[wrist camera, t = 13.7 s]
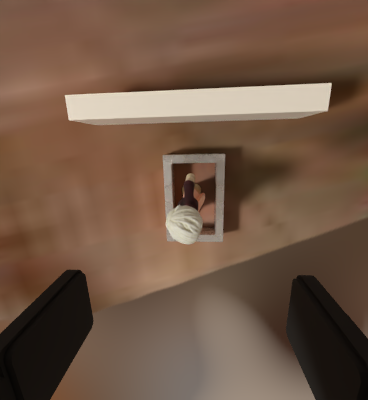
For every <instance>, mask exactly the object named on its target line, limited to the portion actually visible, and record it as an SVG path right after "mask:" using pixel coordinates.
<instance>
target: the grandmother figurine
mask: <svg viewBox="0 0 368 400" xmlns="http://www.w3.org/2000/svg"><path fill="white" fill-rule="evenodd" d="M182 194H183V198H182V199H181V200H180V201H179V202H178V206H177V207H176V208H174V209H172V210H171V211H170V212H169V213H168V214H167V219H166V227H167V229H168V230H169V233H170V234H171V236H172V238H173V239H175V240H177V241H179V242H181V243H183V244H193V243H194V242H195V241H196V240H197V239H198V238H199V235H200V232H201V230H202V225H203V221H202V218H201V216H200V214H199V210H200V208H201V206H202V205H203V203H204V200H205V193H201V187H200V186H199V185H198V184H195V175H194V174H192V173H190V174H188V175H187V176H186V180H185V182H184V186H183V187H182Z"/></svg>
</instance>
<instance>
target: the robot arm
mask: <svg viewBox="0 0 368 400" xmlns="http://www.w3.org/2000/svg"><path fill="white" fill-rule="evenodd" d="M92 325H93V315H92V309H91V304H90V298H89V293H88V287H87V282H86V276H85V274H84V273H82V271H81V270H66V271H65V272H64V273H63V274H62V275H61V276H60V277H59V278H58V279H57V280H56V281H55V282H54V283H52V284H51V285H50V286H49V287H48V288H47V289H46V290H45V291H44V292H43V293H42V294H41V295H40V296H39V297H38V298H37V299H36V300H35V301H34V302H33V303H32V304H31V305H30V306H29V307H28V308H26V309H25V310H24V311H23V312H22V313H21V314H20V315H19V316H18V317H17V318H16V319H15V320H14V321H13V322H12V323H11V324H10V325H9V326H8V327H7V328H6V329H5V330H4V331H3V332H2V333H1V334H0V400H50V399H51V397H52V395H53V394H54V392H55V390H56V388H57V387H58V385H59V383H60V382H61V380H62V378H63V376H64V375H65V373H66V371H67V369H68V368H69V366H70V364H71V363H72V361H73V359H74V357H75V356H76V354H77V352H78V351H79V349H80V347H81V345H82V344H83V342H84V340H85V339H86V337H87V335H88V333H89V332H90V330H91V328H92ZM286 332H287V336H288V339H289V341H290V344H291V346H292V348H293V350H294V352H295V355H296V357H297V359H298V361H299V364H300V366H301V368H302V370H303V373H304V374H305V377H306V379H307V381H308V384H309V386H310V388H311V390H312V393H313V394H314V397H315V399H316V400H368V339H367V337H366V336H365V335H364V334H363V333H362V331H361V330H360V329H359V328H358V327H357V325H356V324H355V323H354V322H353V321H352V320H351V318H350V317H349V316H348V315H347V314H346V313H345V312H344V311H343V310H342V308H341V307H340V306H339V305H338V304H337V302H335V300H334V299H333V298H332V297H331V296H330V294H329V293H328V292H327V291H326V289H325V288H324V287H323V286H322V285H321V284H320V282H319V281H318V280H317V279H316V278H315V277H314V276H310V275H307V276H306V275H299V276H297V279H293V282H292V290H291V297H290V304H289V311H288V318H287V326H286Z"/></svg>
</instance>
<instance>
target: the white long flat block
mask: <svg viewBox="0 0 368 400" xmlns="http://www.w3.org/2000/svg"><path fill="white" fill-rule="evenodd" d="M331 85H332V83H320V84H298V85H276V86H254V87H232V88H211V89H189V90H167V91H145V92H123V93H101V94H79V95H65V98H66V105H67V111H68V117H69V120H71V121H76V122H82V123H87V124H93V125H117V124H147V123H177V122H206V121H236V120H266V119H296V118H302V117H306V116H310V115H314V114H318V113H321V112H325V111H328V106H329V99H330V92H331Z"/></svg>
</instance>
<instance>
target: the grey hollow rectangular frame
mask: <svg viewBox="0 0 368 400" xmlns="http://www.w3.org/2000/svg"><path fill="white" fill-rule="evenodd" d="M174 163H215V206H214V228H202V230H201V232H200V235H199V238H198V239H197V240H196V241H199V242H223V216H224V179H225V154H224V153H205V154H166V155H163V168H164V188H165V209H166V219H167V214H168V213H169V212H170V211H171V210H172V209H174V208H175V185H174ZM166 229H167V227H166ZM167 241H177V240H175V239H173V238H172V236H171V234H170V233H169V230H168V229H167Z"/></svg>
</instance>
